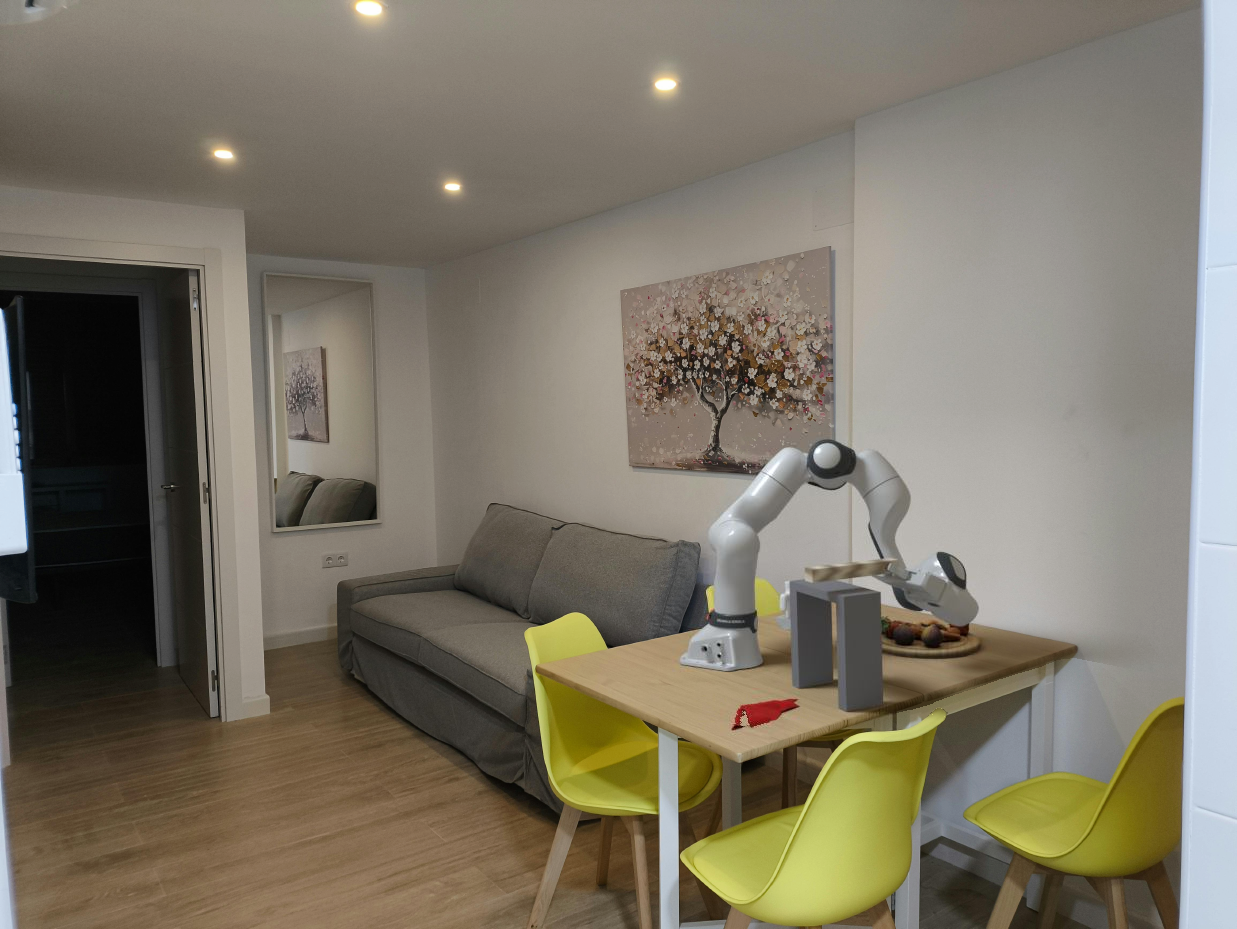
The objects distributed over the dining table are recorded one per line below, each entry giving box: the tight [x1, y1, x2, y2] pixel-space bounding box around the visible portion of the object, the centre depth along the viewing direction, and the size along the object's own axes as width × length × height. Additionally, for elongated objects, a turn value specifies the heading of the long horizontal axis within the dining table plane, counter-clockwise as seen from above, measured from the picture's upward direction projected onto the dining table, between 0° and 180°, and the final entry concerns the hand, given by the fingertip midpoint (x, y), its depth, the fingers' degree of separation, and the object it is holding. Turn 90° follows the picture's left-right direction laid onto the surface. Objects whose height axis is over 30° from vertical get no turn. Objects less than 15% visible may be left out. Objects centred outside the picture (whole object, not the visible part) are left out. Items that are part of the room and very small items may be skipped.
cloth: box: [731, 698, 800, 730], centre depth 193 cm, size 26×14×2 cm, turn 124°
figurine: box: [774, 580, 791, 631], centre depth 269 cm, size 7×9×15 cm
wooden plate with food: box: [881, 615, 982, 660], centre depth 246 cm, size 32×32×8 cm
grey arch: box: [789, 578, 884, 713], centre depth 203 cm, size 10×22×26 cm, turn 21°
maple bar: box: [804, 558, 899, 583], centre depth 198 cm, size 24×3×3 cm, turn 112°
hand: (881, 564), depth 201 cm, fingers closed on maple bar, 3 cm apart
